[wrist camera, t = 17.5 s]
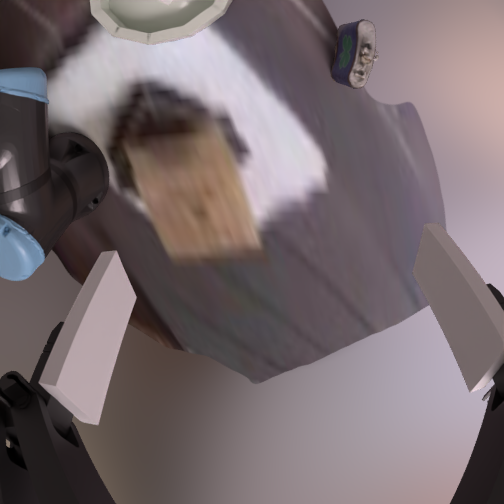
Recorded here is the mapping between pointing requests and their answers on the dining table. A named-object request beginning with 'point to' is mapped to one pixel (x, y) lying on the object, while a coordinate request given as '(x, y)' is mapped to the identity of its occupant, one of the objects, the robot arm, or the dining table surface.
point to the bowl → (157, 18)
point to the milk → (166, 1)
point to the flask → (354, 53)
